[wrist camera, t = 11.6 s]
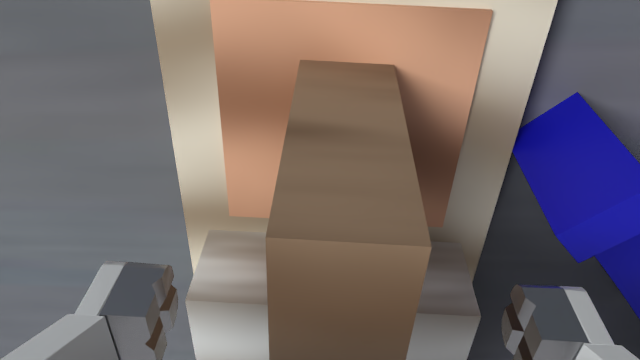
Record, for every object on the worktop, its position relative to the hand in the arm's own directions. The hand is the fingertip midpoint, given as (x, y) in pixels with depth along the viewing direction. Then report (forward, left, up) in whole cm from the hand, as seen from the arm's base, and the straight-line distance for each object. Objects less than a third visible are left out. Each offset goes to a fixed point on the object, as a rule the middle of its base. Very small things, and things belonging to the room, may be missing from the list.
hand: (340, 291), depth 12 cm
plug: (0, 0, -8) cm, 8 cm away
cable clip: (-3, -12, -10) cm, 16 cm away
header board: (-5, 0, -9) cm, 11 cm away
